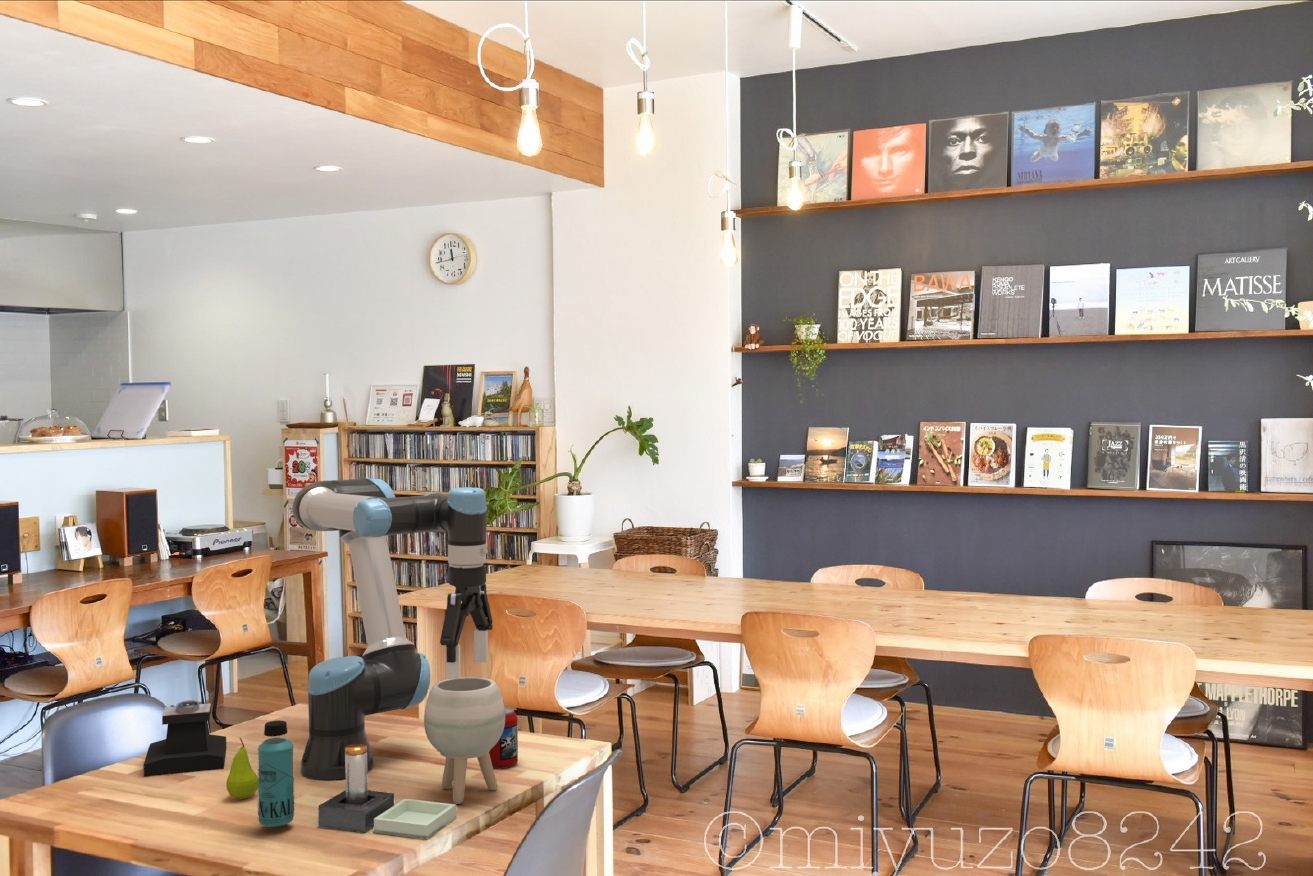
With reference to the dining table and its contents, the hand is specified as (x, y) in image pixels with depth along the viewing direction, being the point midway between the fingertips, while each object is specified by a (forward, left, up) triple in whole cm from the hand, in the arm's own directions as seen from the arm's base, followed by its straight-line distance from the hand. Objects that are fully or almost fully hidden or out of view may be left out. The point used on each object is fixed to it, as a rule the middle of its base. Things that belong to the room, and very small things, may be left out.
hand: (467, 669), depth 225 cm
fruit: (-43, -15, -26) cm, 52 cm away
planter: (-1, 0, -26) cm, 26 cm away
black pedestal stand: (-69, 0, -26) cm, 74 cm away
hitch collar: (-14, -19, -25) cm, 35 cm away
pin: (-14, -19, -25) cm, 35 cm away
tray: (-2, -18, -25) cm, 31 cm away
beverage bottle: (-26, -27, -26) cm, 45 cm away
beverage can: (-2, +19, -26) cm, 32 cm away
